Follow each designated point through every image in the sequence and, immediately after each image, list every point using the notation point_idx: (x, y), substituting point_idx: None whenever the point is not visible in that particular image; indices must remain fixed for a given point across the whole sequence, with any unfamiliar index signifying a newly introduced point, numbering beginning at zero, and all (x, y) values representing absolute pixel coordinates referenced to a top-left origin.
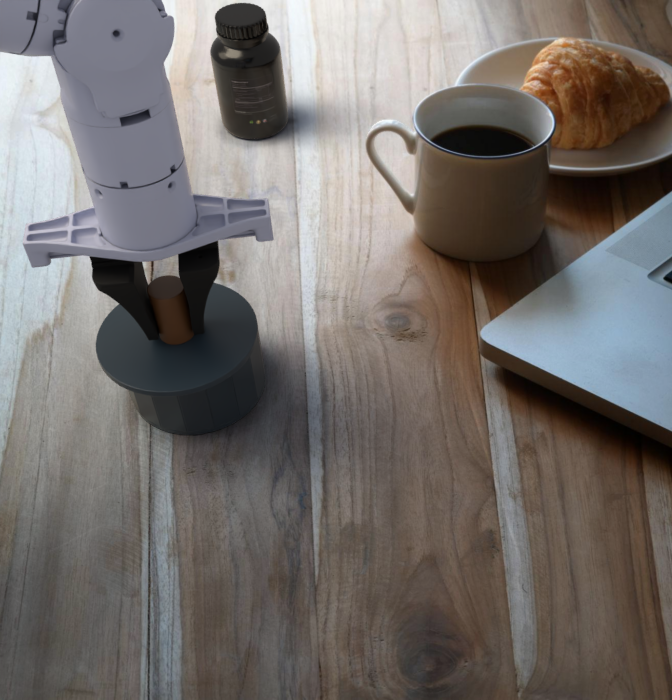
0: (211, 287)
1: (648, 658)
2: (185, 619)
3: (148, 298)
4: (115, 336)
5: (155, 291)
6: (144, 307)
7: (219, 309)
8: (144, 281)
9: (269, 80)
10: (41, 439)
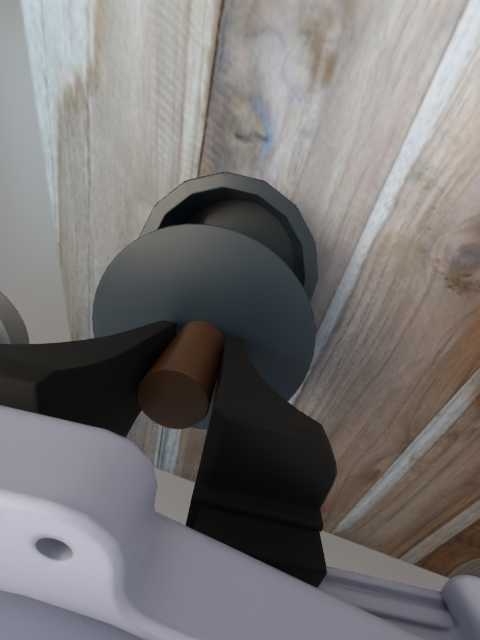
0: (273, 270)
1: (400, 546)
2: (181, 445)
3: (147, 370)
4: (118, 316)
5: (152, 405)
6: (130, 427)
7: (269, 323)
8: (133, 370)
9: None
10: (88, 270)
